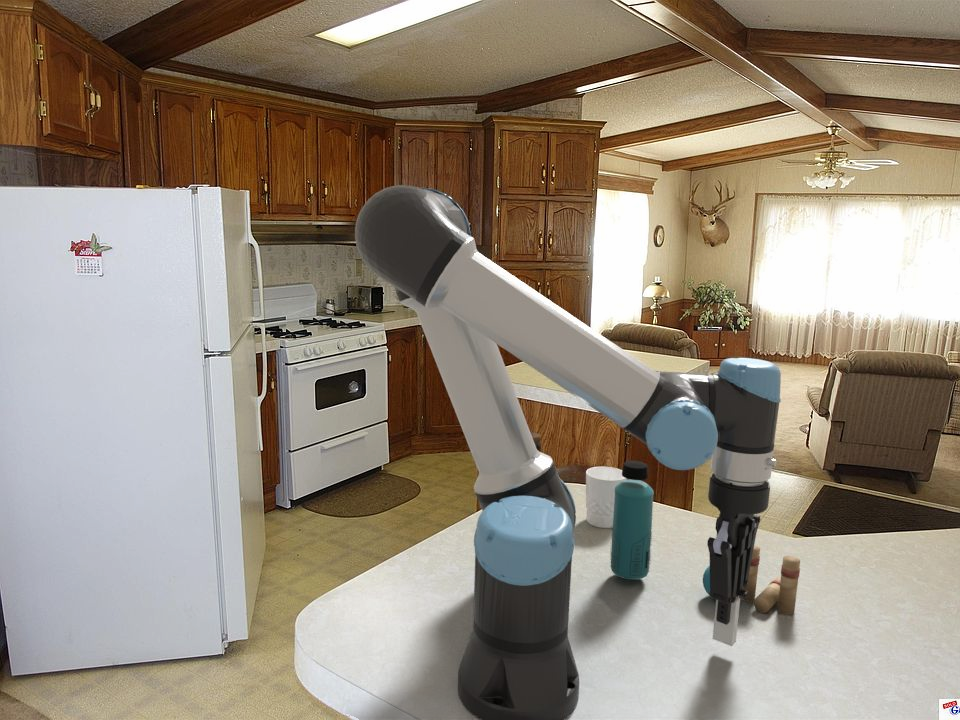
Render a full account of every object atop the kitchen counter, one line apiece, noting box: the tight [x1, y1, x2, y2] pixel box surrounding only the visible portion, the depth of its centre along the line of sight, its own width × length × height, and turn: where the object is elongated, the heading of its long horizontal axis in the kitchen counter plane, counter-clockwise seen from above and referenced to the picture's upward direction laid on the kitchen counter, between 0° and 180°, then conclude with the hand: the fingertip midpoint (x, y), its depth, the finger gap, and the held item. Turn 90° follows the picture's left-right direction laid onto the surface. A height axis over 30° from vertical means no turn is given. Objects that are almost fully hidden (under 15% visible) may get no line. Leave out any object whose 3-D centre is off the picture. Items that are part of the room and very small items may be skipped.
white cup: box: [585, 466, 628, 529], centre depth 143 cm, size 8×8×10 cm
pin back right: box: [777, 555, 801, 616], centre depth 112 cm, size 3×2×8 cm
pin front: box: [752, 576, 781, 614], centre depth 115 cm, size 3×3×8 cm
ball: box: [702, 565, 739, 601], centre depth 115 cm, size 6×6×6 cm
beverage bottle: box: [609, 460, 655, 580], centre depth 119 cm, size 6×7×20 cm
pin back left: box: [738, 544, 761, 602], centre depth 115 cm, size 3×3×8 cm
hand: (724, 640), depth 101 cm, fingers closed
